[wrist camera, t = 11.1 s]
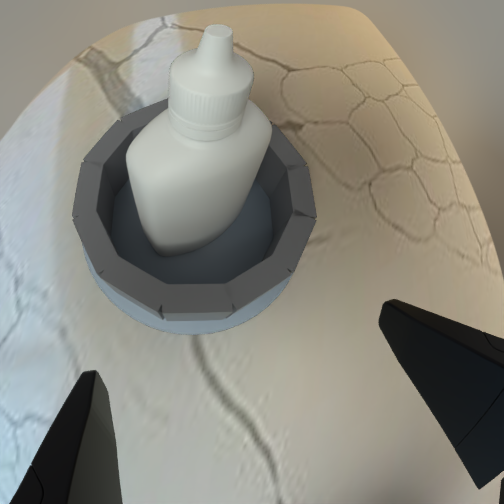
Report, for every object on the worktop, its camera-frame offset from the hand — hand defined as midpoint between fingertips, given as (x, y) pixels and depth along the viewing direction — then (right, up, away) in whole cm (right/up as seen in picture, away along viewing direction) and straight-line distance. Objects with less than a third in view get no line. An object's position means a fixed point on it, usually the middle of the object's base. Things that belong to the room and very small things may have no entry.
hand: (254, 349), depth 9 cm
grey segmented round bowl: (-4, +5, +10) cm, 11 cm away
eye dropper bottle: (-3, +5, +9) cm, 11 cm away
